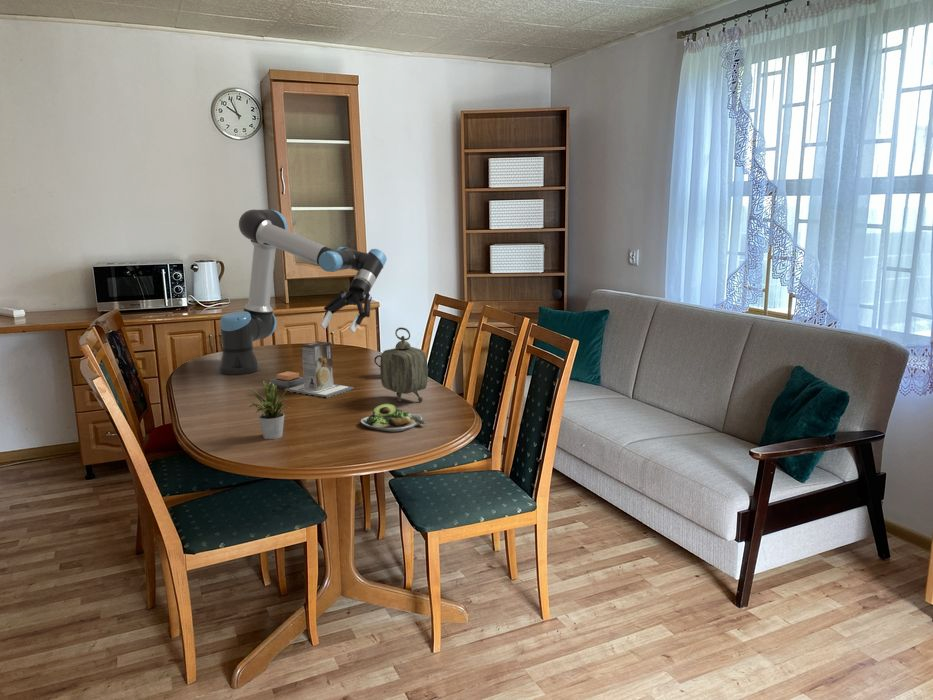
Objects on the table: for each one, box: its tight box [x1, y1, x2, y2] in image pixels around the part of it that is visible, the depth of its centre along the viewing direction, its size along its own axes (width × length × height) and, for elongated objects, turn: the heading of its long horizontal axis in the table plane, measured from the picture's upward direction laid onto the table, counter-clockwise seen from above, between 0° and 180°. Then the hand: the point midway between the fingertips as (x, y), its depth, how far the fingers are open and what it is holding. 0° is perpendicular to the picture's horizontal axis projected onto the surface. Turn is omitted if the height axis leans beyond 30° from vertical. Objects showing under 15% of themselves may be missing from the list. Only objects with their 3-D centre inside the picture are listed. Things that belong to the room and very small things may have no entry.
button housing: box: [269, 376, 304, 389], centre depth 253 cm, size 9×9×2 cm
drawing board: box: [284, 383, 354, 399], centre depth 246 cm, size 20×14×1 cm
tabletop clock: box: [379, 327, 429, 403], centre depth 229 cm, size 14×9×25 cm, turn 48°
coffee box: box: [301, 340, 335, 391], centre depth 245 cm, size 9×6×16 cm
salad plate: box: [359, 403, 427, 433], centre depth 206 cm, size 19×18×5 cm
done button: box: [276, 371, 300, 380], centre depth 253 cm, size 6×6×2 cm
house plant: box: [245, 380, 291, 440], centre depth 194 cm, size 14×14×16 cm
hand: (336, 328), depth 251 cm, fingers open, 13 cm apart
